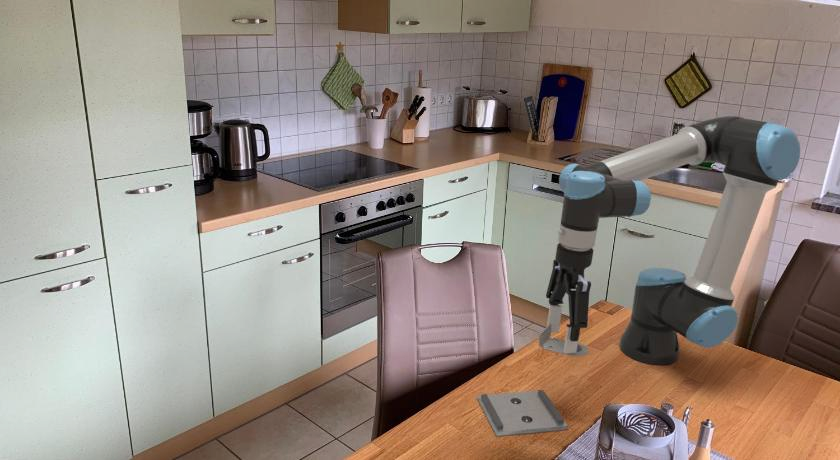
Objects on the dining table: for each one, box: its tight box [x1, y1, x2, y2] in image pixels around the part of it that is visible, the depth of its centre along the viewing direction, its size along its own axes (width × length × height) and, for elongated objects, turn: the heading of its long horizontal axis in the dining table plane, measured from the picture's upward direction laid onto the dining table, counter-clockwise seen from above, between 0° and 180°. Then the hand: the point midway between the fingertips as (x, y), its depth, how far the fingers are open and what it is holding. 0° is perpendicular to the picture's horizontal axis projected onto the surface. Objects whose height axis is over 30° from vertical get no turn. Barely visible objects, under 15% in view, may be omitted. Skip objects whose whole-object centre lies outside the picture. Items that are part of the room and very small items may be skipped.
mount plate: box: [477, 389, 569, 437], centre depth 144 cm, size 16×14×2 cm
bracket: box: [538, 324, 589, 357], centre depth 141 cm, size 7×10×4 cm, turn 58°
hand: (560, 341), depth 143 cm, fingers closed on bracket, 9 cm apart
